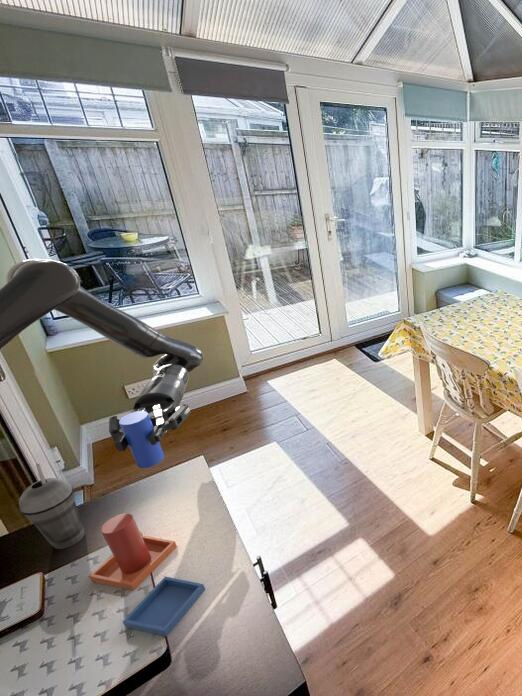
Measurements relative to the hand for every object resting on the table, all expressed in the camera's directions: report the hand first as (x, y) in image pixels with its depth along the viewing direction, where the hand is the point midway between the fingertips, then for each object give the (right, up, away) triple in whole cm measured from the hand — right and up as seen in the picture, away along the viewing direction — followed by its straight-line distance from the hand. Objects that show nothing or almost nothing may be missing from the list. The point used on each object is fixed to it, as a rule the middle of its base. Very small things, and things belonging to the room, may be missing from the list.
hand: (136, 444), depth 80 cm
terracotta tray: (0, -24, 0) cm, 24 cm away
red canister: (0, -23, 0) cm, 23 cm away
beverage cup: (-17, -21, +4) cm, 28 cm away
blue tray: (+12, -27, -7) cm, 31 cm away
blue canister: (-1, -5, +5) cm, 7 cm away
